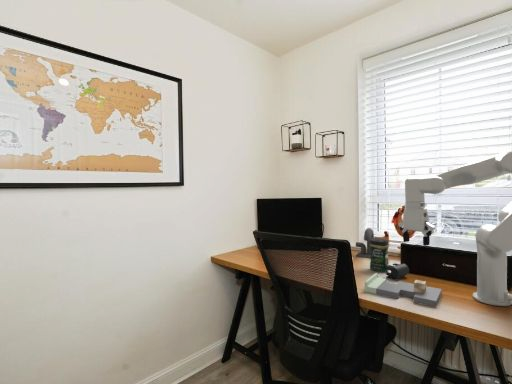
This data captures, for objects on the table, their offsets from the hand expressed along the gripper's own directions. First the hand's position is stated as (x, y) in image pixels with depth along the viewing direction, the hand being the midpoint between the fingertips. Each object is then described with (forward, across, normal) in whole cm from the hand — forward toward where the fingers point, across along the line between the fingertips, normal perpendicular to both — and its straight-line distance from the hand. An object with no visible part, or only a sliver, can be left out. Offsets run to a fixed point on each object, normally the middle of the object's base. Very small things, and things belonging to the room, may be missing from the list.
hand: (416, 243), depth 129 cm
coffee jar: (+22, +31, -11) cm, 40 cm away
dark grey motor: (+22, +18, -9) cm, 30 cm away
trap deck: (+22, +2, +7) cm, 23 cm away
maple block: (+20, -4, +3) cm, 20 cm away
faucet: (+22, +53, -26) cm, 63 cm away
